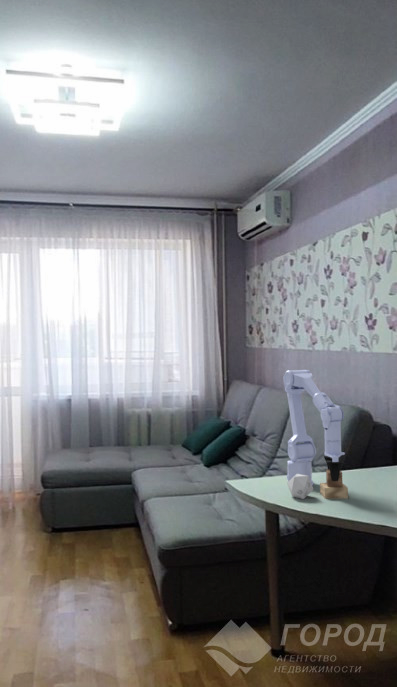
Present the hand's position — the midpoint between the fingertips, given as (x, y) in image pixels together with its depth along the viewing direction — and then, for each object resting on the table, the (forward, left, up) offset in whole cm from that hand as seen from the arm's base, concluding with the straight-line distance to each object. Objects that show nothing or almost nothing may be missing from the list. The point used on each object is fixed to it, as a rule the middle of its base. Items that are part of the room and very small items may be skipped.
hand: (333, 478), depth 202 cm
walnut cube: (0, 0, -2) cm, 2 cm away
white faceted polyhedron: (-12, -3, -6) cm, 14 cm away
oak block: (0, 0, -6) cm, 6 cm away
